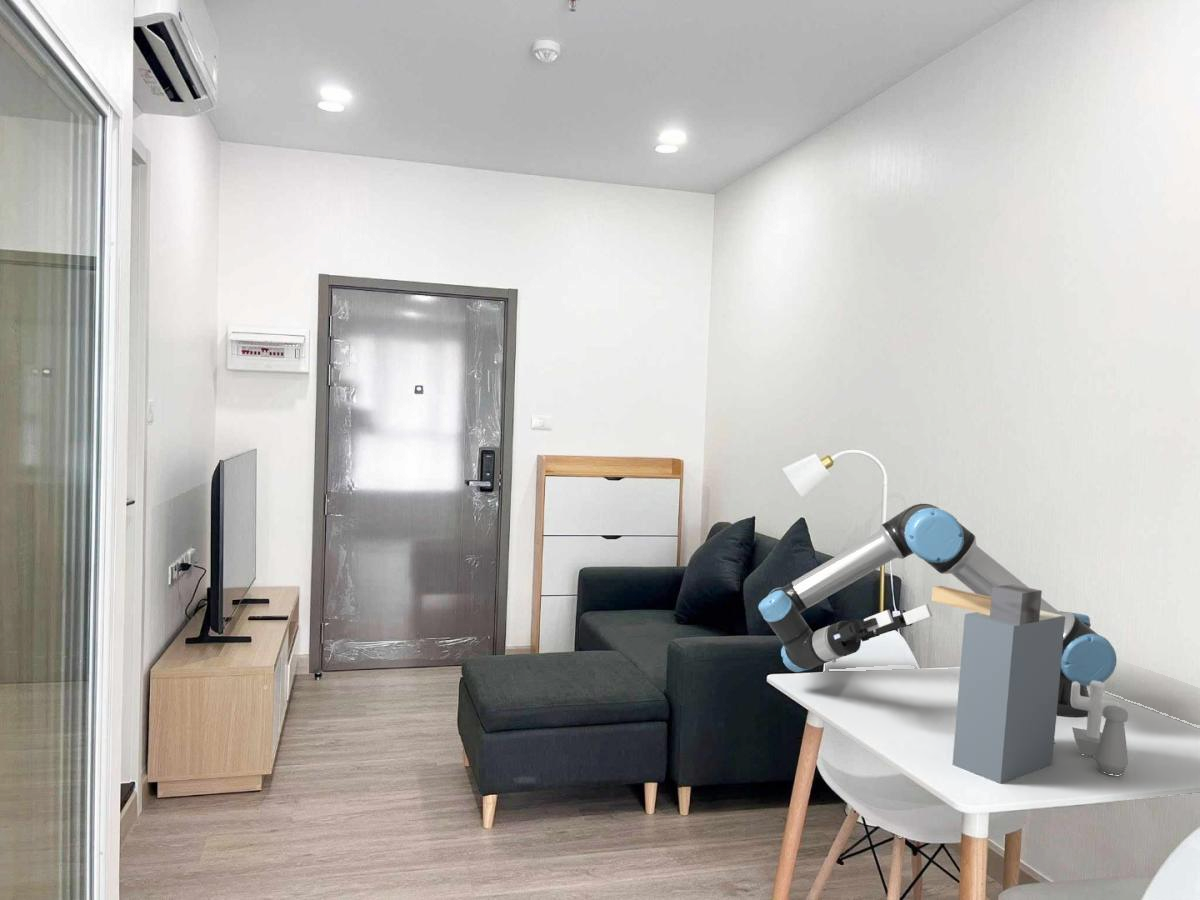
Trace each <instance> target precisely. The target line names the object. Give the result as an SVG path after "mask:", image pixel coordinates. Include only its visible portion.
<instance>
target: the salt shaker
mask: <svg viewBox="0 0 1200 900" xmlns="http://www.w3.org/2000/svg"><path fill="white" fill-rule="evenodd" d="M1102 716H1103V717H1104V719H1105V721H1104V725H1103V729H1102V732H1101V733H1102V735H1101V738H1100V741H1099V745H1098V748H1097V751H1096V754H1095V757H1094V761H1095V764H1096V765H1097V767H1098V769H1099V770H1100V771H1102V772H1105V773H1107V774H1113V775H1120V774H1122V773H1123V774H1124V772H1125V770H1126V769H1128V766H1129V756H1128V746H1127V737H1126V730H1125V729H1126V727H1125V722H1127V720H1128V719H1129V712H1128V711H1127V710H1126V709H1125V708H1123V707H1122V706H1121V707H1118V706H1106V707H1104V710H1103V713H1102ZM1100 771H1099V772H1100ZM1102 772H1101V773H1102ZM1105 773H1104V774H1105ZM1107 774H1106V775H1107ZM1123 774H1122V775H1123ZM1120 776H1121V775H1120Z"/></svg>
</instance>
